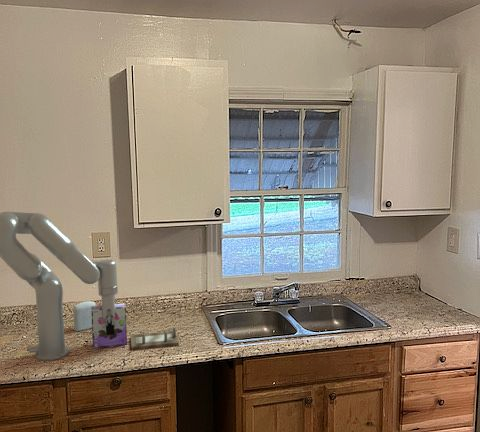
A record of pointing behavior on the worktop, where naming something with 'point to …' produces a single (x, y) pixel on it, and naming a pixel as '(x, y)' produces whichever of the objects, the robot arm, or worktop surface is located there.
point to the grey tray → (154, 340)
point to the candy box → (100, 327)
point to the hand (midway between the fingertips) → (110, 330)
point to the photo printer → (83, 315)
